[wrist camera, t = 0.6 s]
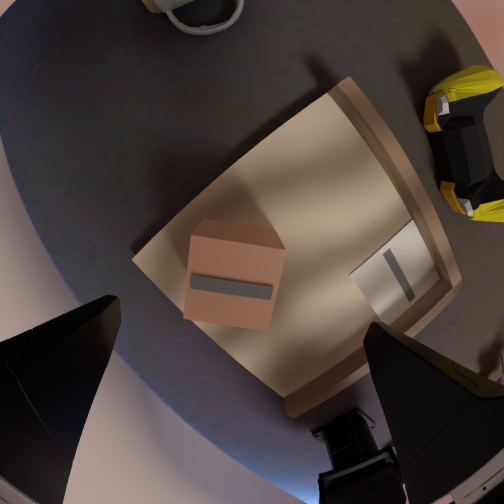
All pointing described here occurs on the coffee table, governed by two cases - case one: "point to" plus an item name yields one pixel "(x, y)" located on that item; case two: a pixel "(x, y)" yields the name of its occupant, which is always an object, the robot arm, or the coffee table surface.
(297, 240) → the arena
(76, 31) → the coffee table surface
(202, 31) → the ceramic mug
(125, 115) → the coffee table surface
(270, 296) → the cube
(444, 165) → the gaming controller
